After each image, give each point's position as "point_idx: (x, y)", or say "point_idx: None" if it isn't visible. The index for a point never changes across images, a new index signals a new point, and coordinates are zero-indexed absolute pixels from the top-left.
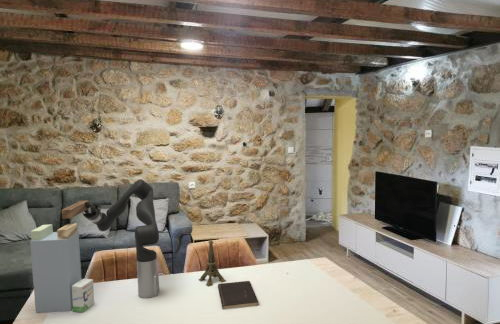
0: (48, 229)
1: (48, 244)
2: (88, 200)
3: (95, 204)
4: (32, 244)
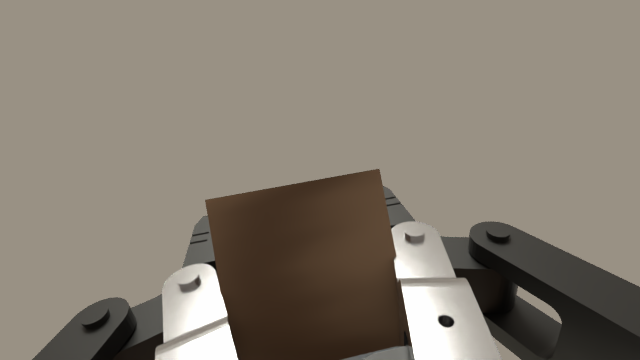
0: None
1: None
2: (207, 200)
3: (58, 339)
4: None
